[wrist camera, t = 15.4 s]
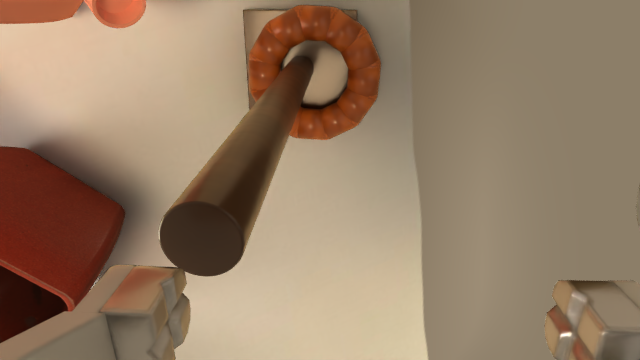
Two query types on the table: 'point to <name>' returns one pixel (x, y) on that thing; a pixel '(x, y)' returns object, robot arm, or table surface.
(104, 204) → the flower pot
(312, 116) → the ring
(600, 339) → the robot arm
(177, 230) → the stand
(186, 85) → the table surface
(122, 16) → the teapot
